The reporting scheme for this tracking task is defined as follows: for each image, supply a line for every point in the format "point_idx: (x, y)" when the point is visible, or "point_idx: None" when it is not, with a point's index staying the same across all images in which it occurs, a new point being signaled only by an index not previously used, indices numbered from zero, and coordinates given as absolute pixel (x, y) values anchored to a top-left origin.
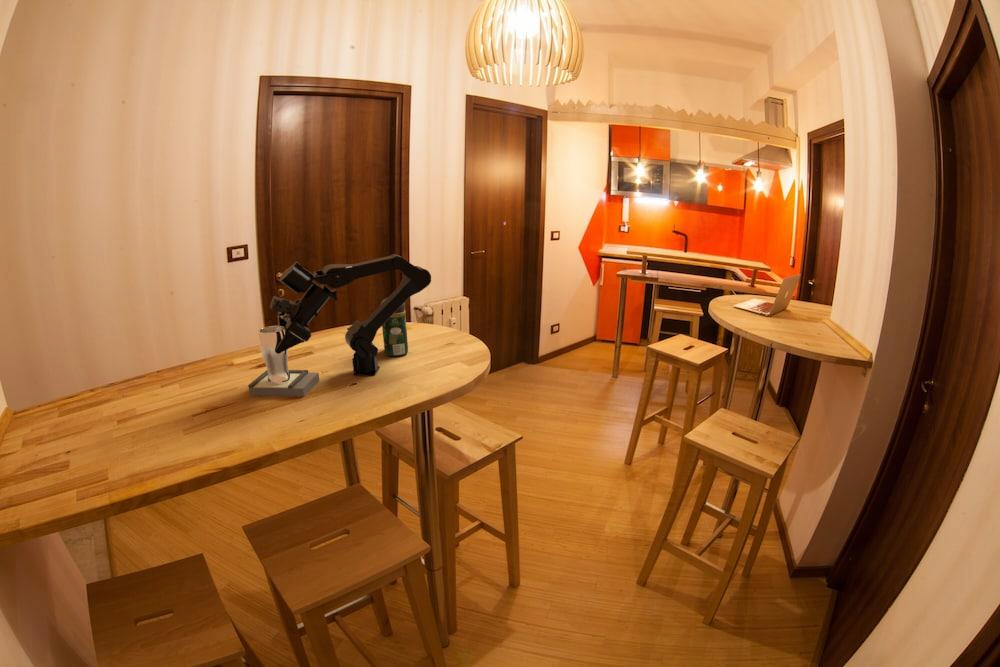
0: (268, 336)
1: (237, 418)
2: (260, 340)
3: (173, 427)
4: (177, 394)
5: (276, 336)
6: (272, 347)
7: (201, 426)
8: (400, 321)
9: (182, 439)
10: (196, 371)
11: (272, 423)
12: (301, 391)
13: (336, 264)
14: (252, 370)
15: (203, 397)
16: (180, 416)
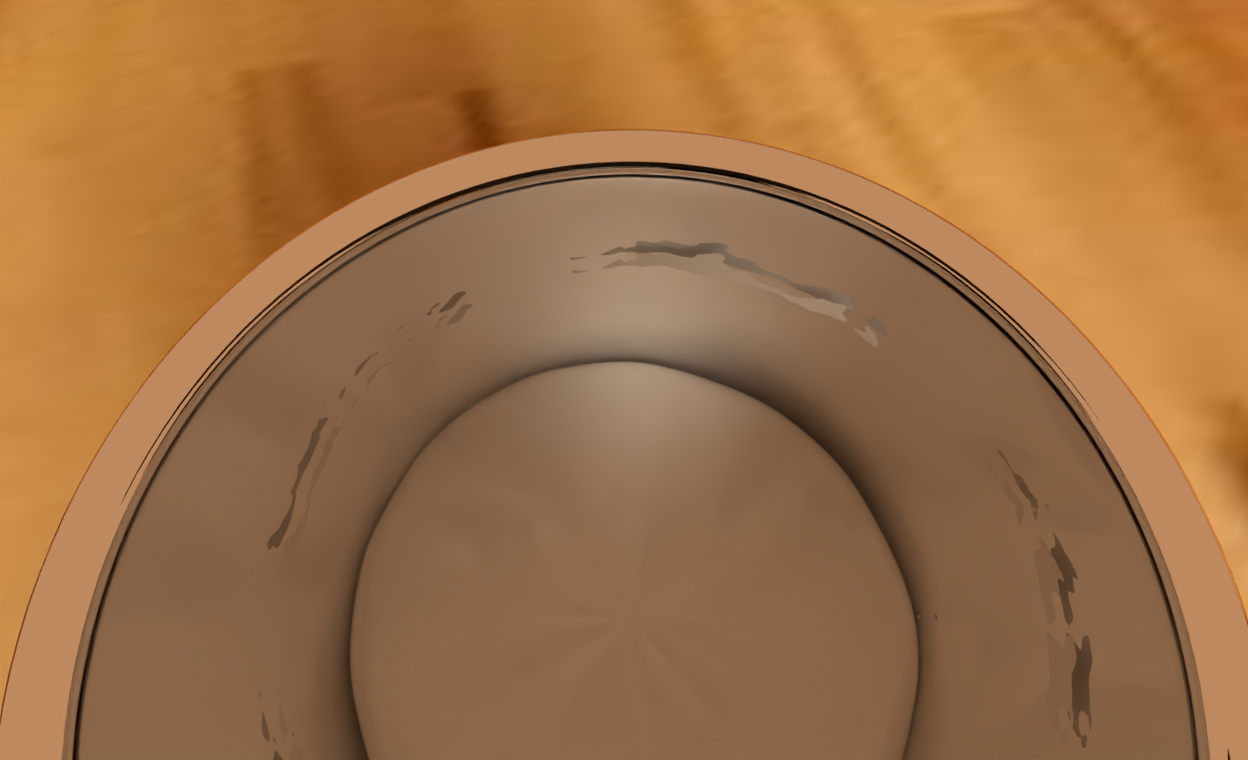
0: (215, 454)
1: None
2: (504, 292)
3: (374, 26)
4: (844, 13)
5: (155, 744)
6: (336, 563)
7: (292, 132)
8: None
9: (195, 67)
10: (1239, 76)
11: (19, 500)
12: None
13: None
14: (1178, 417)
15: (729, 127)
16: (500, 43)
